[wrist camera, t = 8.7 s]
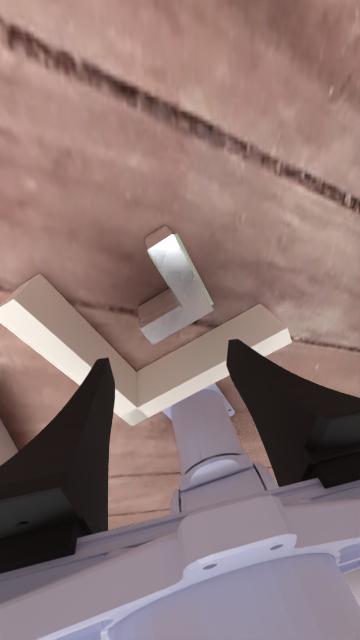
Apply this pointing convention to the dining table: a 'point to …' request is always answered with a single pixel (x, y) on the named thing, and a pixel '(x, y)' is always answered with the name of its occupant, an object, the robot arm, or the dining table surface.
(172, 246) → the bracket
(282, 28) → the dining table surface
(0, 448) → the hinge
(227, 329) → the corner wall
